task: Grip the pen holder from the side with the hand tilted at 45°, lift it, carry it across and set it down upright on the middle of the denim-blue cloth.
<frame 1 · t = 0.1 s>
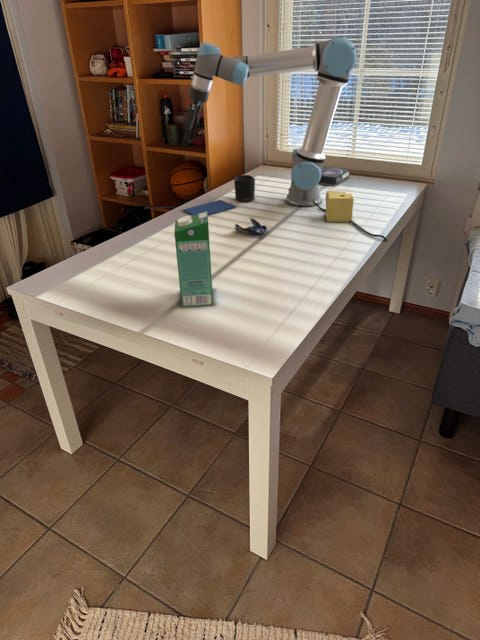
hand: (186, 143, 191), 28 cm above the table, tool tilted 20°, fingers open, 13 cm apart
blue cloth: (209, 209, 206), on the table
pen holder: (244, 200, 217), on the table
portable cd player: (327, 179, 242), on the table
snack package: (251, 233, 182), on the table
milk carton: (197, 298, 139), on the table
cheese: (337, 218, 193), on the table
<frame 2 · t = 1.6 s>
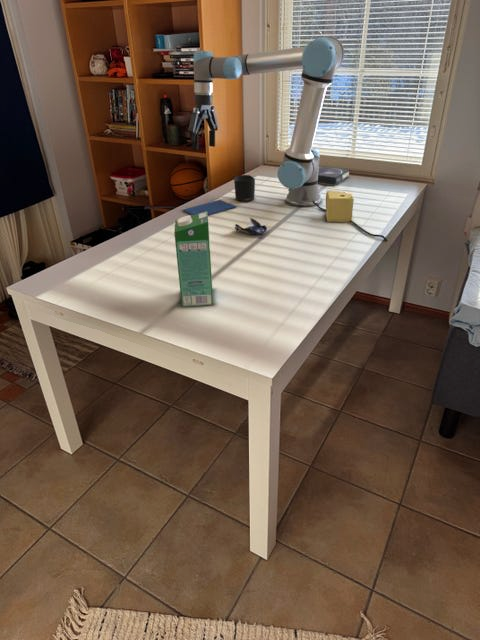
hand: (203, 148, 203), 23 cm above the table, tool pointing down, fingers open, 13 cm apart
nothing on the table moved.
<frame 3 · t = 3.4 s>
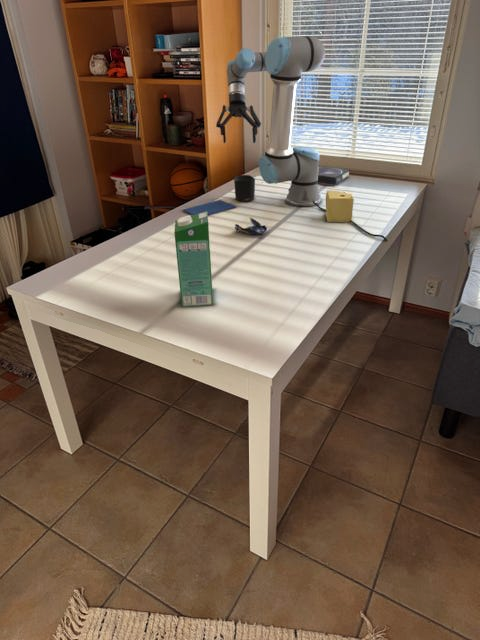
hand: (239, 141, 212), 24 cm above the table, tool tilted 35°, fingers open, 13 cm apart
nothing on the table moved.
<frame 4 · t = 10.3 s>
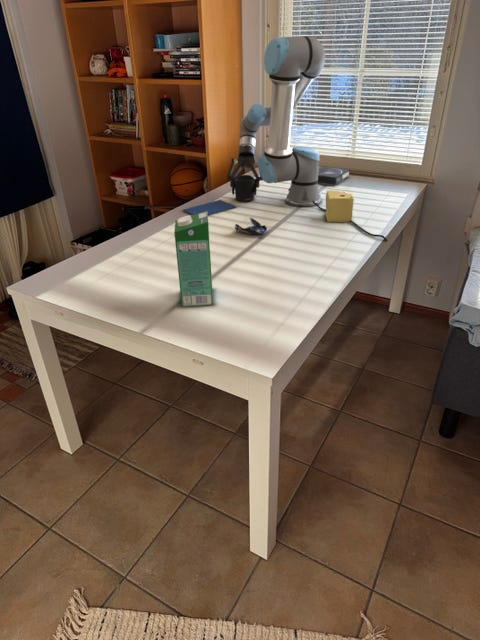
hand: (244, 193, 212), 4 cm above the table, tool tilted 45°, fingers closed on pen holder, 9 cm apart
pen holder: (244, 200, 217), on the table, touching gripper
everything else where it was.
when the fingers open (4 cm above the table, at t = 19.6 s): pen holder stays where it is, resting on blue cloth.
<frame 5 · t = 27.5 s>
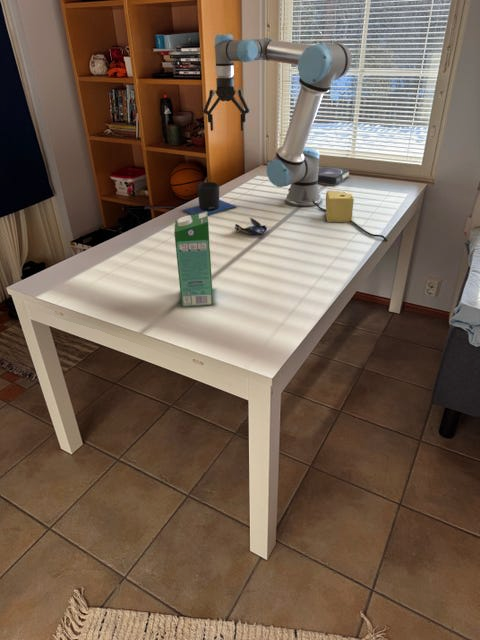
hand: (227, 130, 210), 29 cm above the table, tool pointing down, fingers open, 13 cm apart
pen holder: (209, 208, 206), resting on blue cloth
everything else where it was.
at the end: pen holder inside the target area (0.1 cm from its centre), resting on blue cloth; pen holder tilted 0°; the gripper is holding nothing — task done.
